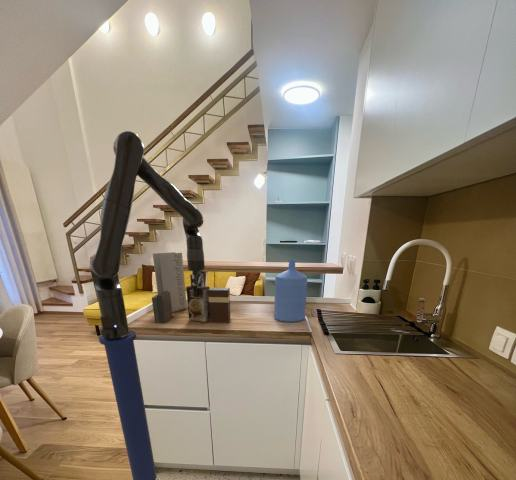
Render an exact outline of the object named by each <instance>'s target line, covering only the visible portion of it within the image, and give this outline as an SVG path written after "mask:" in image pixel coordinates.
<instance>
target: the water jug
mask: <svg viewBox="0 0 516 480" xmlns="http://www.w3.org/2000/svg"><path fill="white" fill-rule="evenodd" d="M274 277H275V279H274V309H273V317H274V319H275V320H277V321H279V322H284V323H285V322H287V323H297V322H301V321H303V320H304V319H305V318H306V303H307V287H308V276H307V275H306V274H303V273H302V272H300V271H299V270H296V260H288V268H287V270H284V271H283V272H280V273H278V274H276V275H275V276H274Z"/></svg>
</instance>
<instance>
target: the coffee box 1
mask: <svg viewBox="0 0 516 480" xmlns="http://www.w3.org/2000/svg"><path fill="white" fill-rule="evenodd" d="M209 289H210V286H206V285H202V286H198V293H199V297H194V294H193V289H192V288H191V285H188V286H185V290H186V303H187V312H188V314H187V315H188V321H193V322H202V323H206V322H208V321H210V310H209V292H208V290H209Z"/></svg>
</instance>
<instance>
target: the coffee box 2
mask: <svg viewBox="0 0 516 480" xmlns="http://www.w3.org/2000/svg"><path fill="white" fill-rule="evenodd" d="M208 292H209V310H210V320H209V322H210V323H220V324H221V323H222V324H228V323H230V321H231V292H230V287H209V290H208Z"/></svg>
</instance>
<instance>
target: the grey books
mask: <svg viewBox="0 0 516 480" xmlns="http://www.w3.org/2000/svg"><path fill="white" fill-rule="evenodd" d="M151 302H152V311H153V317H154V319H153V320H154V323H155V324H159V323H160V324H166V323H167V322H168V321H169V320H170V319H171V318H173V312H172V306H171V297H170V291H164V292H163V293H159V294H158V293H157V294H156V295H154V296H152V297H151Z"/></svg>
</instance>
